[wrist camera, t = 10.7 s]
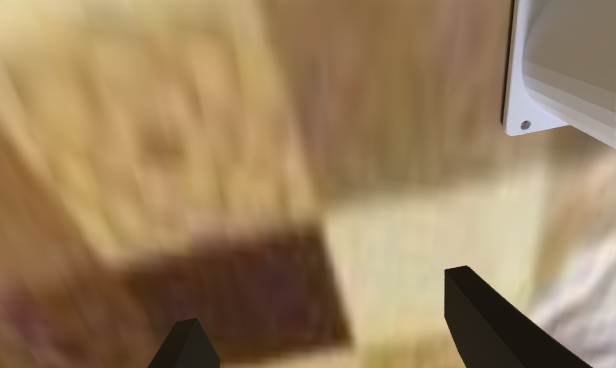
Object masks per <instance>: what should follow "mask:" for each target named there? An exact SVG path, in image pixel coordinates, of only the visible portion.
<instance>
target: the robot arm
mask: <svg viewBox="0 0 616 368" xmlns="http://www.w3.org/2000/svg"><path fill="white" fill-rule="evenodd" d="M524 121H526V124H525V125H524V126H522V127H520V126H521V124H522V123H523V122H524ZM565 125H572V126H574V127H575V128H577V129H579V130H581V131H583V132H585V133H587V134H589V135H591V136H592V137H594V138H596V139H598V140H600V141H602V142H604V143H606V144H607V145H609V146H611V147H613V148H615V149H616V0H515V5H514V15H513V26H512V36H511V46H510V56H509V66H508V77H507V87H506V97H505V107H504V118H503V131H504V132H505V133H506V134H508V135H510V136H515V135H520V134H525V133H530V132H535V131H540V130H545V129H550V128H555V127H560V126H565ZM444 317H445V320H446V322H447V325H448V327H449V330H450V332H451V335H452V337H453V340H454V342H455V345H456V347H457V350H458V352H459V354H460V356H461V358H462V360H463V362H464V364H465V366H466V368H593V367H591V366H590V365H588V364H587V363H586V362H584V361H583V360H582V359H580V358H579V357H578V356H576V355H575V354H573V353H572V352H571V351H569V350H568V349H567V348H565V347H564V346H563V345H561V344H560V343H559V342H557V341H556V340H555V339H554V338H552V337H551V336H550V335H548V334H547V333H546V332H545V331H543V330H542V329H541V328H540V327H538V326H537V325H536V324H535V323H533V322H532V321H531V320H530V319H529V318H527V317H526V316H525V315H524V314H522V313H521V312H520V311H519V310H518V309H516V308H515V307H514V306H513V305H512V304H510V303H509V302H508V301H507V300H506V299H505V298H503V297H502V296H501V295H500V294H499V293H498V292H497V291H495V290H494V289H493V288H492V287H491V286H490V285H489V284H487V283H486V282H485V281H484V280H483V279H482V278H481V277H480V276H479V275H477V274H476V273H475V272H474V271H473V270H472V269H471V268H470V267H468V266H467V265H466V266H461V267H455V268H450V269H445V296H444ZM148 368H220V359H219V357H218V355H217V353H216V352H215V350H214V348H213V346H212V344H211V343H210V341H209V339H208V337H207V335H206V334H205V332H204V330H203V328H202V327H201V325H200V323H199V321H198V319H197V318H194V319H189V320H184V321H179V322H176V324H175V325H174V327H173V328H172V330H171V331H170V333H169V334H168V336H167V337H166V339H165V341H164V342H163V344H162V345H161V347H160V349H159V350H158V352H157V353H156V355H155V357H154V358H153V360H152V361H151V363H150V364H149V366H148Z"/></svg>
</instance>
